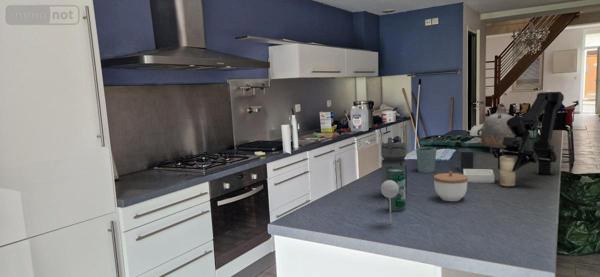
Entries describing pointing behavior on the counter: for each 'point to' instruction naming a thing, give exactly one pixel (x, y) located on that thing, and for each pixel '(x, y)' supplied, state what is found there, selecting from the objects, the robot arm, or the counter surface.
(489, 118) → the jug
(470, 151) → the small box
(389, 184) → the lollipop
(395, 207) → the can
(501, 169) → the canister
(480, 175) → the tray
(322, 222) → the counter surface
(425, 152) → the drinking glass
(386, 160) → the beverage bottle
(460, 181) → the lidded bowl
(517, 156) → the robot arm
